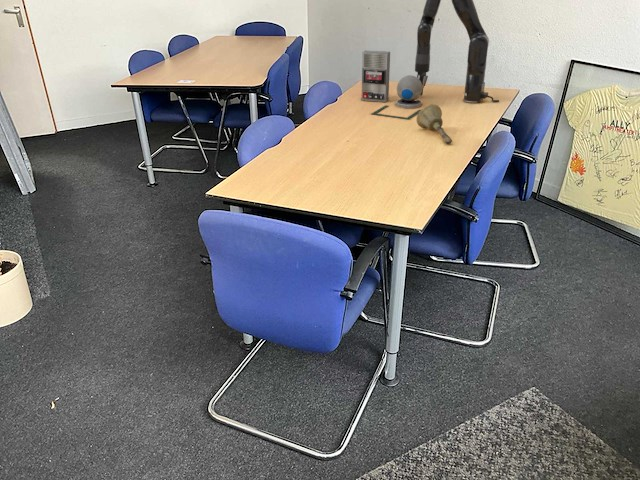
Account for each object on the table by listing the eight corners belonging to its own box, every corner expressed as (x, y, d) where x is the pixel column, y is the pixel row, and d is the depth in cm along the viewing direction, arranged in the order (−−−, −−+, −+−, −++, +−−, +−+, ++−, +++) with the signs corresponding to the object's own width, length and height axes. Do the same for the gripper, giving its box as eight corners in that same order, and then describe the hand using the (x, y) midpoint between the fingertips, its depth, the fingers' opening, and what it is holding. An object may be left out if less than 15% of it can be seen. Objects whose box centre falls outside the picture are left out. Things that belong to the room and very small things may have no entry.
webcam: (423, 102, 281) (425, 73, 274) (418, 109, 271) (420, 79, 264) (398, 101, 285) (400, 72, 278) (393, 107, 275) (395, 77, 267)
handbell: (428, 131, 246) (450, 159, 227) (410, 119, 240) (431, 146, 221) (445, 111, 241) (469, 137, 223) (428, 98, 235) (451, 123, 216)
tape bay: (422, 110, 269) (422, 110, 269) (408, 119, 256) (408, 118, 256) (385, 105, 278) (385, 105, 278) (371, 114, 265) (371, 113, 265)
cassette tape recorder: (360, 100, 288) (361, 52, 276) (364, 97, 293) (365, 50, 281) (385, 102, 283) (387, 53, 271) (388, 99, 288) (390, 51, 276)
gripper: (424, 65, 274) (422, 98, 283) (433, 60, 284) (431, 93, 292) (411, 63, 278) (409, 97, 286) (420, 59, 287) (418, 91, 296)
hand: (420, 95), depth 289 cm, fingers closed
